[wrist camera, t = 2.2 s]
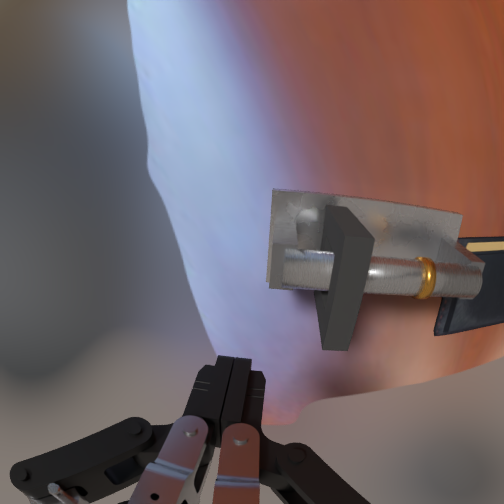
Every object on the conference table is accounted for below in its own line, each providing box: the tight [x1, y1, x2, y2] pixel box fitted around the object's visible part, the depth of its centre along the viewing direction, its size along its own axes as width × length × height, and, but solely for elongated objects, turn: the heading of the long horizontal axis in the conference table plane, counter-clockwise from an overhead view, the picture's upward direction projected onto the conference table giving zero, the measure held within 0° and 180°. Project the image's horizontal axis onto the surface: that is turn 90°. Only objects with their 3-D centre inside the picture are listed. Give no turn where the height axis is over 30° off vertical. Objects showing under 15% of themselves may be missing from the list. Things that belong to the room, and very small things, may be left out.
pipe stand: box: [266, 188, 485, 299], centre depth 25 cm, size 22×10×10 cm, turn 87°
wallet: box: [434, 237, 504, 336], centre depth 29 cm, size 20×2×15 cm
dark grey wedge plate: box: [314, 205, 375, 351], centre depth 23 cm, size 2×9×9 cm, turn 177°
